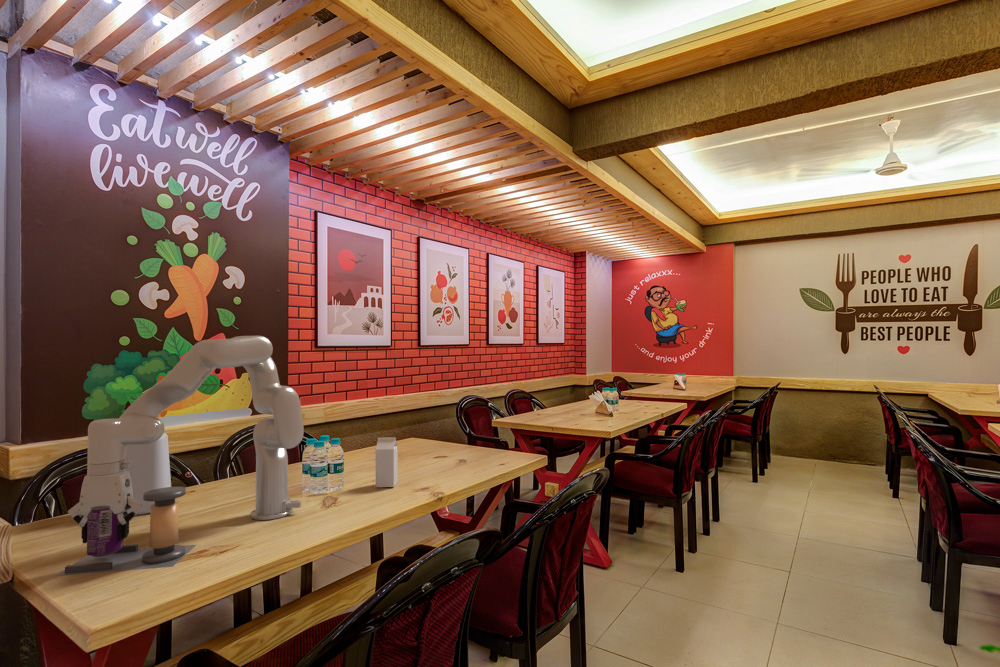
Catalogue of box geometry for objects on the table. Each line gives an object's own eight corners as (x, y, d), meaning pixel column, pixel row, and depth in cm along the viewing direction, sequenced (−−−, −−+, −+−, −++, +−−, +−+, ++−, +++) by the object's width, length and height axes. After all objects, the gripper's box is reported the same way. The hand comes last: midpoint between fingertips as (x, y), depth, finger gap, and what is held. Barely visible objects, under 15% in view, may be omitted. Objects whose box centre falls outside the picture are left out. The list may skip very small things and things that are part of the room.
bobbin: (191, 548, 132) (191, 485, 132) (175, 562, 123) (176, 495, 123) (153, 551, 130) (154, 487, 131) (134, 565, 121) (135, 497, 122)
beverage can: (130, 547, 127) (130, 500, 128) (105, 559, 120) (106, 509, 121) (104, 546, 128) (105, 500, 128) (78, 558, 121) (79, 508, 121)
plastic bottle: (109, 519, 160) (110, 431, 161) (123, 506, 173) (124, 425, 175) (164, 512, 166) (166, 428, 167) (174, 500, 179) (175, 422, 181)
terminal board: (197, 549, 134) (197, 538, 134) (172, 571, 120) (172, 560, 120) (92, 556, 130) (92, 546, 130) (54, 580, 116) (55, 569, 116)
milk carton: (393, 488, 193) (393, 439, 193) (375, 488, 193) (375, 439, 194) (397, 483, 200) (397, 435, 201) (380, 483, 200) (380, 436, 201)
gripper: (152, 463, 130) (151, 532, 130) (77, 467, 127) (76, 537, 126) (136, 470, 123) (135, 543, 122) (56, 474, 120) (55, 548, 119)
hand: (105, 539), depth 124 cm, fingers closed on beverage can, 7 cm apart
